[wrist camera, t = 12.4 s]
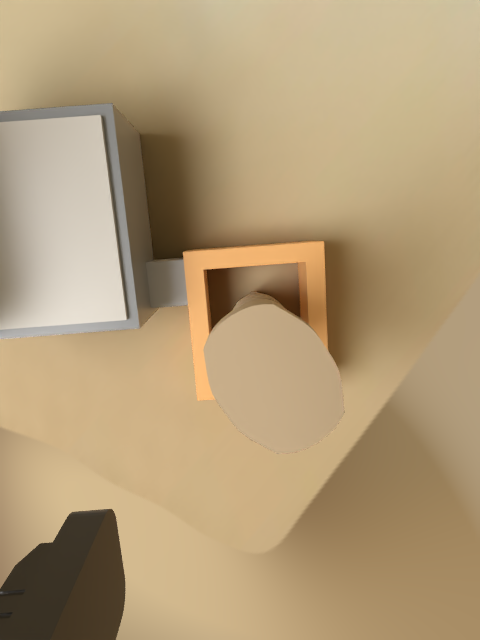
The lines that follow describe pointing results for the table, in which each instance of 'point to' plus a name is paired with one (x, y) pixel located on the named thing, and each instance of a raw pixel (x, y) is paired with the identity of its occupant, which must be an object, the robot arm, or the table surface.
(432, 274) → the table surface
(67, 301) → the chair with orange tray
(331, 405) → the handle
